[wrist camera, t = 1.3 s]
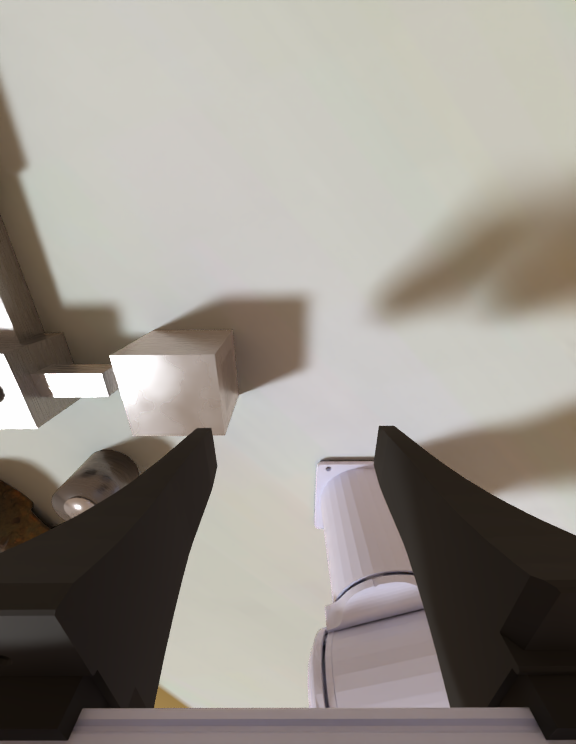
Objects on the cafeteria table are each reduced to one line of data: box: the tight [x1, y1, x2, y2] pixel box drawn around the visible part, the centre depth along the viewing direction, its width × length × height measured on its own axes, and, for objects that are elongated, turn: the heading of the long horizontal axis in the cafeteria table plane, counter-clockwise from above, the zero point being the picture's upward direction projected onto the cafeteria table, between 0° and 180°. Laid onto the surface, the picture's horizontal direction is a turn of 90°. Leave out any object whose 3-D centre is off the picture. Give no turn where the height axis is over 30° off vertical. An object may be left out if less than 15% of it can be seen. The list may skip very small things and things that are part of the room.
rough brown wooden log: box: [0, 480, 51, 553], centre depth 26 cm, size 19×4×5 cm, turn 22°
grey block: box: [110, 329, 239, 436], centre depth 18 cm, size 6×5×5 cm
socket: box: [52, 450, 139, 521], centre depth 22 cm, size 4×4×4 cm
